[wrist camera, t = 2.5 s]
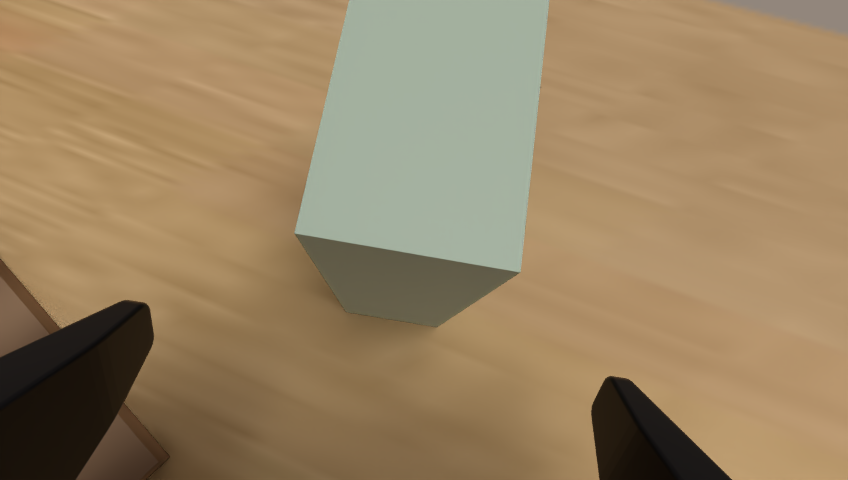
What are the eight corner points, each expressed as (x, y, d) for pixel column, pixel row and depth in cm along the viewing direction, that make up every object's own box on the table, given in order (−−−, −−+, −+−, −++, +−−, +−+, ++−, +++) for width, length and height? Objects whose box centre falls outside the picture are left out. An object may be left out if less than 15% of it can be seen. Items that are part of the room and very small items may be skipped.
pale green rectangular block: (437, 327, 21) (520, 272, 9) (346, 312, 21) (294, 233, 8) (456, 198, 23) (550, -7, 10) (371, 183, 22) (360, -46, 10)
